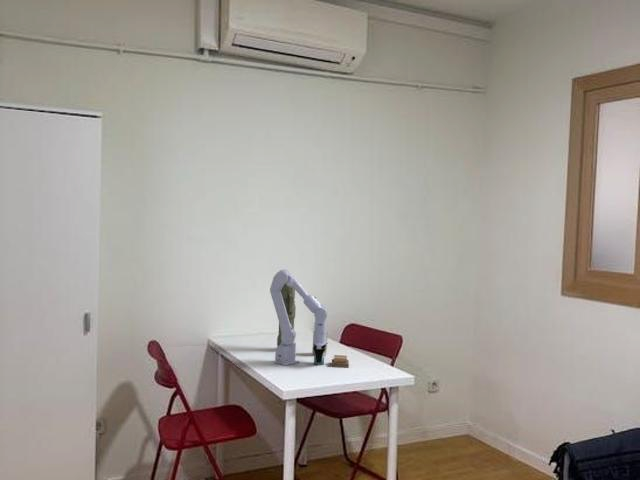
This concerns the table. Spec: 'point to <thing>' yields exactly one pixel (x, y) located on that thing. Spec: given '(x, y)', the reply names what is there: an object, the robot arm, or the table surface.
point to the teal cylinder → (321, 361)
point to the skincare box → (325, 346)
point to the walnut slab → (340, 364)
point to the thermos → (288, 306)
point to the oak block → (340, 359)
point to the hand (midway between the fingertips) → (319, 361)
